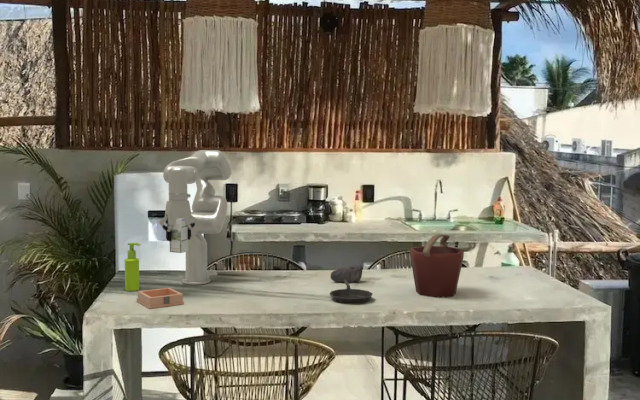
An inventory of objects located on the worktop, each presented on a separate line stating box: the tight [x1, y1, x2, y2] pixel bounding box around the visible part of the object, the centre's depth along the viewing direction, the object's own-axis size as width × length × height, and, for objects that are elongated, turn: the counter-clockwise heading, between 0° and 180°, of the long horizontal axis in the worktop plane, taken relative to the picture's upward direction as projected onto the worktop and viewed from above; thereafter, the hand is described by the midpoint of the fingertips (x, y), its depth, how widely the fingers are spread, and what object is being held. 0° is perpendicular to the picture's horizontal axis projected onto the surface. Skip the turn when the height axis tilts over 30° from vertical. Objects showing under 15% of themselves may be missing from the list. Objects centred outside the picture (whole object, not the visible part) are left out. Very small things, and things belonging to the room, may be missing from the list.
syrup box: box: [169, 217, 188, 254], centre depth 284 cm, size 6×6×14 cm
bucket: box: [409, 233, 465, 298], centre depth 292 cm, size 24×22×25 cm
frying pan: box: [329, 279, 374, 305], centre depth 287 cm, size 18×32×4 cm, turn 4°
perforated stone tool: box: [330, 266, 363, 284], centre depth 313 cm, size 15×5×7 cm, turn 95°
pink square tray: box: [136, 287, 185, 309], centre depth 271 cm, size 14×14×4 cm
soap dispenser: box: [124, 242, 142, 292], centre depth 293 cm, size 6×7×20 cm
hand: (178, 239), depth 284 cm, fingers closed on syrup box, 7 cm apart
